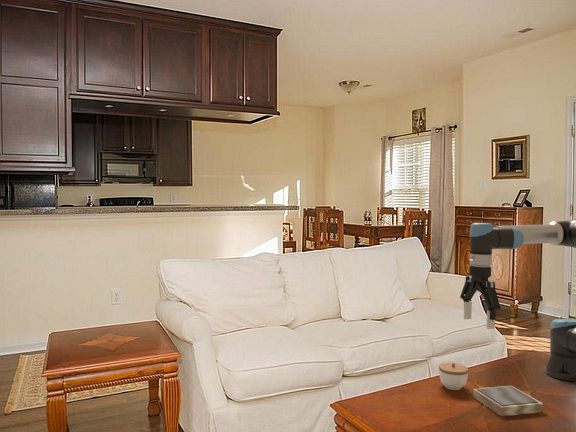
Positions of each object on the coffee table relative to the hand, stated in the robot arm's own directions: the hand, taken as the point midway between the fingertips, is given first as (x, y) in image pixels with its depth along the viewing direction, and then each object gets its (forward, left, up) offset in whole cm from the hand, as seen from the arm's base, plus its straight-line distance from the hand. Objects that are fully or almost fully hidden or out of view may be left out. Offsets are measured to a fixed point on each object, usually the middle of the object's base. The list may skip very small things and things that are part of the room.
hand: (478, 323), depth 176 cm
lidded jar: (+3, -11, -28) cm, 30 cm away
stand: (-7, +7, -27) cm, 29 cm away
